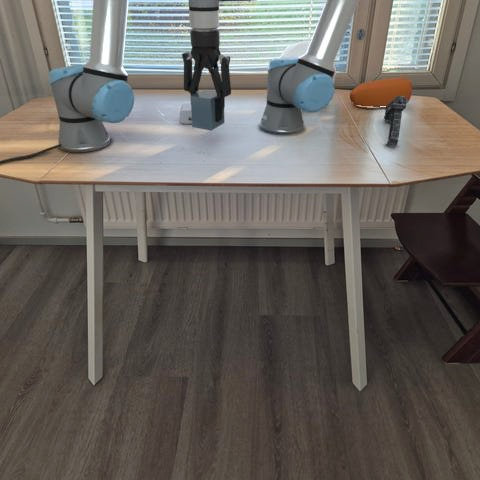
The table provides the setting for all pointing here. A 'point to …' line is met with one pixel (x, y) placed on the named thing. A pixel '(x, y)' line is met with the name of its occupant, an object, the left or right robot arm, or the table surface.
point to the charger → (186, 113)
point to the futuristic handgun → (395, 118)
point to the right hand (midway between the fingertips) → (208, 118)
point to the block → (204, 110)
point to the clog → (381, 92)
